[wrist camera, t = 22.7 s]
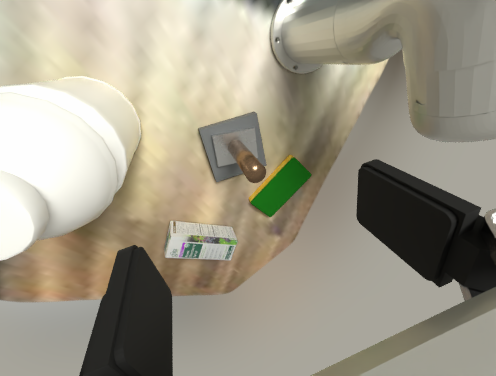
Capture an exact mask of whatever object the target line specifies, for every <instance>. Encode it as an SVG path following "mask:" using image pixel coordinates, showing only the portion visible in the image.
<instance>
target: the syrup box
mask: <svg viewBox="0 0 496 376" xmlns="http://www.w3.org/2000/svg"><path fill="white" fill-rule="evenodd" d="M237 243H238V240H237V238H236V235H235V233H234V231H233V228H232V227H229V226H219V225H209V224H199V223H189V222H180V221H170V225H169V230H168V234H167V238H166V242H165V257H166V258H184V259H212V260H231V259H232V255H233V253H234V250H235V247H236V245H237Z"/></svg>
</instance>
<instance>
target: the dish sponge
mask: <svg viewBox="0 0 496 376" xmlns="http://www.w3.org/2000/svg"><path fill="white" fill-rule="evenodd" d="M310 177H311V173H310V172H309V171H308V170H307V169H306V168H305V167H304V166H303V165H302V164H301V163H300V162H299V161H298V160H297V159H296V158H295V157H293V156H292V155H289V156H288V157H287V158H286V159H285V160H284V161H283V162H282V163H281V164H280V165H279V166H278V167H277V169H276V170H275V171H274V172H273V173H272V174H271V175H270V176H269V177H268V178H267V179H266V180H265V181H264V182H263V183H262V185H261V186H260V187H259V188H258V189H257V190H256V191H255V192H254V193H253V194H252V195H251V196H250V197H249V201H250V203H251V204H252V205H254V206H255V207H256V208H258V209H259V210H261V211H262V212H263V213H265V214H266V215H268V216H269V217H272V216H273V215H274V214H275V213H276V212H277V211H278V210H279V209H280V208H281V207H282V206H283V205H284V204H285V203H286V201H287V200H288V199H289V198H290V197H291V196H292V195H293V194H294V193H295V192H296V191H297V190H298V189H299V188H300V187H301V186H302V185H303V184H304V183H305V182H306V181H307V180H308V179H309V178H310Z"/></svg>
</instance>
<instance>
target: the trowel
mask: <svg viewBox="0 0 496 376" xmlns="http://www.w3.org/2000/svg"><path fill="white" fill-rule="evenodd" d="M212 140H213V145H214V150H215V155H216V160H217V165H218V167H220V166H225V165H229V164H234V163H237V164H238V166H239V167H240V169H241V170H242V172H243V173H244V175H245V176H246V178H247V179H248V180H249V181H250V182H252V183H258V182H260V181H262V180H263V179H264V177H265V175H266V169H265V167H264V166H263V165H262V164H261V163H260V162H259V160H258V159H257V158H258V154H257V144H256V134H255V128H254V127H248V128H243V129H238V130H233V131H228V132H223V133H218V134H213V135H212Z"/></svg>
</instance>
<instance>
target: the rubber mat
mask: <svg viewBox="0 0 496 376" xmlns="http://www.w3.org/2000/svg"><path fill="white" fill-rule="evenodd" d="M248 127H254V128H255V134H256V144H257V154H258V158H257V159H258V160H259V162H260V163H261V164H262V165H263V166H266V160H265V155H264V150H263V145H262V139H261V134H260V129H259V124H258V118H257V113H255V112H252V113H248V114H245V115H242V116H238V117H235V118H232V119H228V120H225V121H221V122H218V123H215V124H211V125H208V126H205V127H201V128H198V129H199V132H200V135H201V138H202V141H203V144H204V147H205V150H206V153H207V156H208V159H209V162H210V165H211V168H212V171H213V174H214V177H215V180H216V182H219V181H222V180H225V179H228V178H231V177H234V176H237V175H240V174H243V172H242V170H241V169H240V167H239V166H238V164H237V163H234V164H229V165H225V166H220V167H218V165H217V160H216V155H215V150H214V145H213V140H212V135H213V134H218V133H223V132H228V131H233V130H238V129H243V128H248Z"/></svg>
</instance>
